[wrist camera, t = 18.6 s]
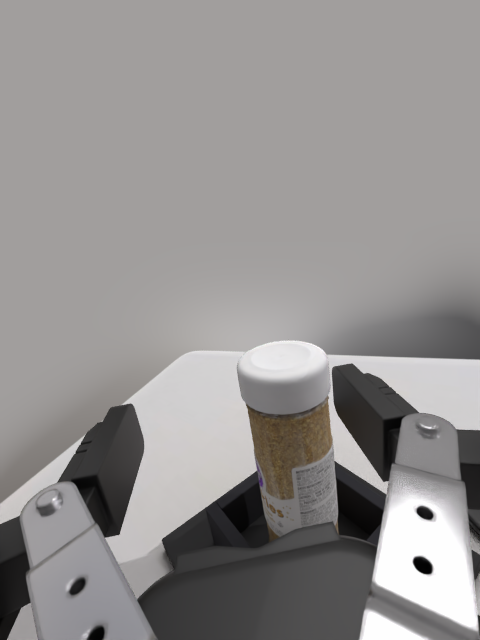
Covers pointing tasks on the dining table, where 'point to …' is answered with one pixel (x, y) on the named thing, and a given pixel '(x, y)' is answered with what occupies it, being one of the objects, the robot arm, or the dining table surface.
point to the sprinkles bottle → (291, 433)
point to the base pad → (251, 526)
